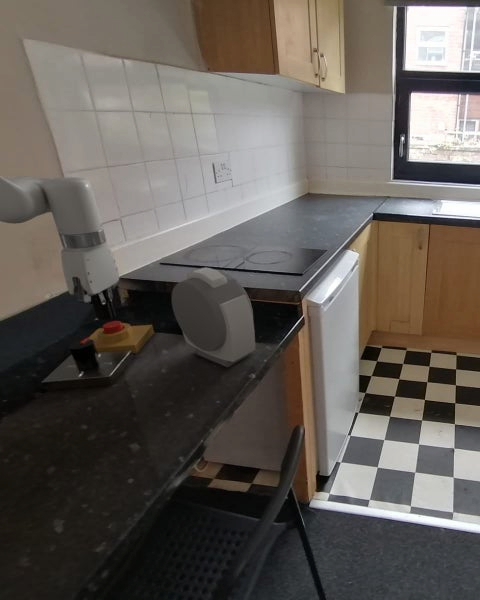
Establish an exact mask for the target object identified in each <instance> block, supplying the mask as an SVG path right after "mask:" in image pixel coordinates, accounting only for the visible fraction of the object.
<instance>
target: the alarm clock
mask: <svg viewBox="0 0 480 600" xmlns="http://www.w3.org/2000/svg"><path fill="white" fill-rule="evenodd" d="M171 306H172V307H171V308H172V311H173V314H174V317H175V319H176V321H177V324H178V326H179V327H180V329H181V331H182V334H183V337H184V340H185V342H186V343H187V344H188V345H190V346H191V347H193V348H194V349H195V353H196V355H198V356H201V357H203V358H205V359H207V360H210V361H212V362H214V363H216V364H219V365H221V366H223V367H225V368H229V367H231V366H233V365H235V364H237V363H238V362H240V361H242V360H243V359H246V358H247V357H248V355H249V354H251V353H253V352H254V351H255V350H256V335H255V333H256V332H255V324H254V310H253V306H252V303H251V299H250V298H249V295H248V293H247V291H246V290H245V288H244V286H243V285H242V284H241V283H240V281H238V279H237V278H235V277H234V276H233V275H232V274H230V273H229V272H226V271H224V270H219V269H214V268H211V267H206V266H205V267H202V268H199V269H195V270H191V271H190V272H187V273H186V279H184V280H182V281H181V280H180V281H178V282H177V284H175V285H174V287H173V289H172V291H171Z"/></svg>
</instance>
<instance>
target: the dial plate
mask: <svg viewBox="0 0 480 600" xmlns="http://www.w3.org/2000/svg"><path fill="white" fill-rule="evenodd" d="M98 355H99V358H100V361H101V363H100V364H99V365H98V366H96V367H94V368H92V369H88V370H78V369H77V367H76V364H75V361H74V359H73V356H72V354H70V355H69V356H68V357H67V358H66V359H65V360H64V361H63V362H61V363H60V364H58V366H57V367H56V368H55V369H54V370H52V372H51V373H49V375H47V377H45V378H44V379H43V380H41V385H42V387H43V389H44V391H55V390H67V389H78V388H88V387H98V386H111V385H113V384H114V383H115V382H116V380H117V379H118V378H119V377H120V376H121V374H122V373H123V372H124V371H125V370H126V368H127V367H128V365H130V363H131V362H132V361H133V360H134V354H132V351H131V350H130V351H117V352H104V353H98Z"/></svg>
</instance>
